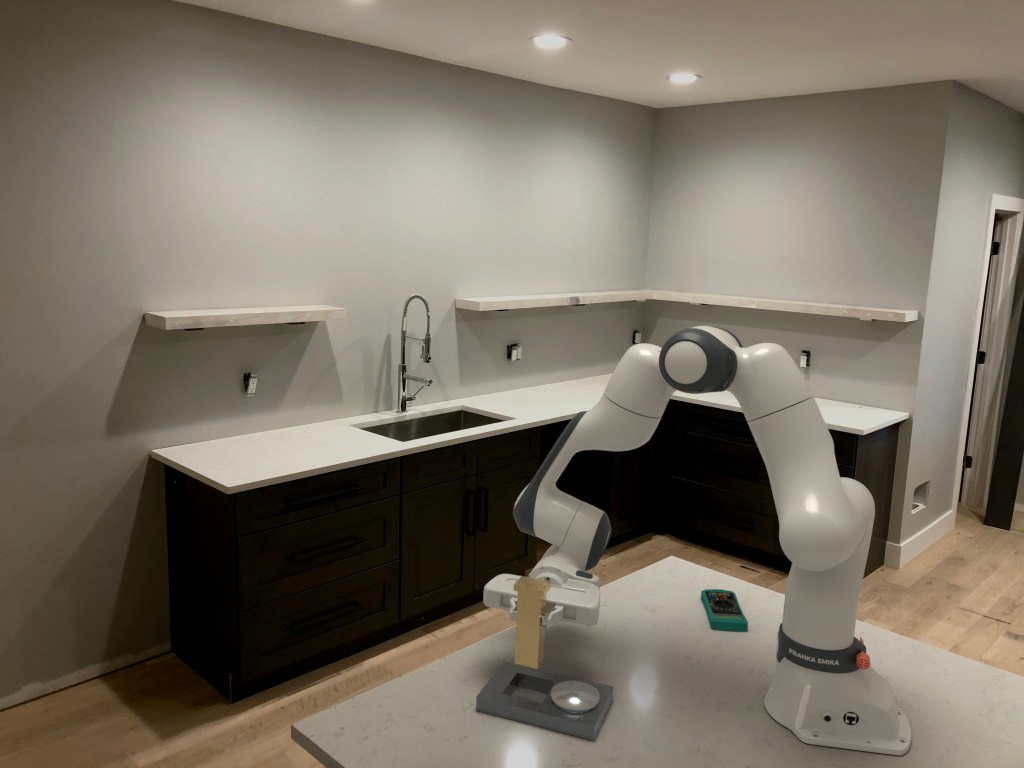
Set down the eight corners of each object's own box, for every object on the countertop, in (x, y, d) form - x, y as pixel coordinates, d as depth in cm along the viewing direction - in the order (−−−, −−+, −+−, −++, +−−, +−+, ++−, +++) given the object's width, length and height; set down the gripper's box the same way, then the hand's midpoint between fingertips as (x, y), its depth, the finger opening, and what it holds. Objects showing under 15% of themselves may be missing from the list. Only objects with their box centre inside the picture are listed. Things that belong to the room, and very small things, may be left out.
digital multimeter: (733, 601, 174) (734, 588, 174) (748, 634, 160) (749, 620, 159) (699, 599, 175) (700, 586, 174) (710, 632, 160) (711, 618, 160)
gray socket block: (612, 700, 135) (613, 682, 134) (594, 741, 124) (595, 721, 123) (503, 674, 142) (503, 657, 141) (476, 710, 131) (476, 692, 130)
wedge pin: (547, 660, 133) (551, 582, 131) (540, 670, 130) (544, 590, 127) (518, 653, 135) (521, 576, 133) (510, 663, 132) (513, 584, 129)
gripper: (497, 559, 146) (470, 591, 133) (608, 578, 140) (590, 612, 127) (496, 591, 147) (469, 626, 134) (606, 611, 141) (588, 649, 128)
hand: (529, 619), depth 130 cm, fingers closed on wedge pin, 4 cm apart
